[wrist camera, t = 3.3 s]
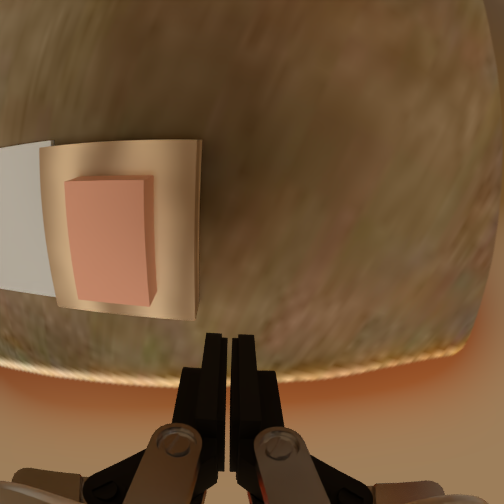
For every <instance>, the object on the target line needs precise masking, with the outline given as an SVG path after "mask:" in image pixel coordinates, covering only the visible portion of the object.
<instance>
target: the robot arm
mask: <svg viewBox="0 0 504 504" xmlns="http://www.w3.org/2000/svg"><path fill="white" fill-rule="evenodd" d="M227 339H228V338H222V334H219V333H206V339H205V346H204V353H203V361H202V368H189V367H183V370H182V374H181V379H180V384H179V388H178V394H177V399H176V404H175V409H174V414H173V419H172V423H171V424H166V425H164V426H161V427H160V428H158V429H157V430H156V431H155V432H154V434H153V435H152V437H151V439H150V442H149V444H148V446H147V448H146V449H145V450H143V451H141V452H139V453H137V454H135V455H133V456H131V457H129V458H127V459H125V460H123V461H121V462H119V463H117V464H114V465H112V466H110V467H108V468H106V469H104V470H102V471H100V472H97V473H95V474H93V475H92V476H90V477H82V476H81V475H80V474H73V473H63V472H54V471H47V470H40V469H34V468H23V469H20V470H18V471H17V472H16V473H15V474H14V476H13V479H12V482H6V481H0V504H204V501H205V497H206V493H207V489H208V488H210V487H211V486H213V485H214V484H216V483H217V479H218V471H224V462H225V412H226V373H227ZM230 472H236V480H237V483H238V484H239V485H240V486H242V487H243V488H244V489H246V490H247V495H248V499H249V503H250V504H488V503H487V502H486V501H485V500H483V499H482V498H479V497H476V496H471V495H458V494H456V495H455V494H454V495H445V494H444V491H443V488H442V487H441V486H440V485H439V484H438V483H435V482H433V481H418V482H405V483H404V482H403V483H379V484H375V485H374V486H366V485H364V484H363V483H362V482H360V481H358V480H356V479H353V478H352V477H350V476H348V475H346V474H344V473H342V472H340V471H338V470H337V469H335V468H333V467H331V466H329V465H328V464H326V463H324V462H322V461H320V460H319V459H317V458H315V457H314V456H312V455H310V454H309V451H308V449H307V447H306V444H305V442H304V440H303V439H302V437H301V436H300V435H299V434H298V433H297V432H296V431H293V430H291V429H289V428H285V427H284V422H283V416H282V409H281V403H280V397H279V391H278V384H277V378H276V373H275V371H257V364H256V353H255V341H254V335H243V334H239V335H238V338H232V360H231V387H230Z"/></svg>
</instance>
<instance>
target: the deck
mask: <svg viewBox="0 0 504 504" xmlns="http://www.w3.org/2000/svg"><path fill="white" fill-rule="evenodd" d="M201 159H202V140H193V139H155V140H122V141H103V142H89V143H76V144H66V145H56V146H48V147H41V148H39V165H40V188H41V202H42V213H43V222H44V231H45V239H46V246H47V252H48V259H49V265H50V270H51V276H52V281H53V286H54V290H55V295H56V300H57V304H58V306H59V307H65V308H73V309H80V310H88V311H96V312H104V313H113V314H122V315H131V316H142V317H152V318H164V319H177V320H191V321H195V319H196V315H197V310H198V306H199V220H200V184H201ZM116 175H154V242H155V264H156V281H157V293H156V295H155V297H154V299H153V301H152V303H151V305H150V307H146V306H135V305H125V304H115V303H105V302H96V301H87V300H79V299H78V295H77V290H76V284H75V279H74V273H73V266H72V260H71V252H70V245H69V236H68V227H67V217H66V204H65V188H64V181H68V180H71V179H74V178H77V177H80V176H116Z"/></svg>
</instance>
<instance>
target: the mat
mask: <svg viewBox="0 0 504 504" xmlns="http://www.w3.org/2000/svg"><path fill="white" fill-rule="evenodd" d="M54 141H55V140H50V141H43V142H35V143H28V144H22V145H16V146H10V147H4V148H0V289H6V290H12V291H19V292H25V293H32V294H38V295H45V296H52V297H56V295H55V290H54V286H53V281H52V276H51V270H50V265H49V259H48V252H47V246H46V239H45V231H44V222H43V213H42V202H41V188H40V165H39V148H41V147H48V146H54Z"/></svg>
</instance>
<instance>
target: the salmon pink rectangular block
mask: <svg viewBox="0 0 504 504" xmlns="http://www.w3.org/2000/svg"><path fill="white" fill-rule="evenodd" d="M64 188H65V204H66V217H67V227H68V236H69V245H70V252H71V260H72V266H73V273H74V279H75V284H76V290H77V295H78V299H79V300H87V301H96V302H105V303H115V304H125V305H135V306H146V307H150V305H151V303H152V301H153V299H154V297H155V295H156V293H157V281H156V264H155V242H154V175H116V176H80V177H77V178H74V179H71V180H68V181H64Z"/></svg>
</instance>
